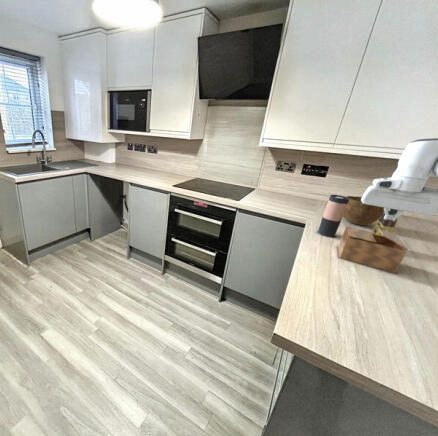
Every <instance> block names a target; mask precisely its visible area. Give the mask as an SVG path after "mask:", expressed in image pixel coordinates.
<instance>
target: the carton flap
mask: <svg viewBox="0 0 438 436" xmlns="http://www.w3.org/2000/svg"><path fill="white" fill-rule="evenodd" d="M377 227H378V229H379V230H380V232H381V234H382V235H383V236H384V237H386V238H387V239H389V240H391V241H392V242H394V243H396V244H398V245H399V246H401V247H403V248H404V249H405V250H406V251H408V247H407V246H406V245H405V244H404V242H403V241H402V239H401V238H400V237H399V236H397V235H395V234H394V233H393V232H392V233H390V232H388V231H387V230H385V229H383V228H381V227H380V226H378V225H377Z"/></svg>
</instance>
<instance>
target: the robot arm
mask: <svg viewBox="0 0 438 436" xmlns="http://www.w3.org/2000/svg"><path fill="white" fill-rule="evenodd" d="M430 177H435V178H436V179H437V178H438V138H437V137H434V138H433V137H432V138H420V139H415V140H413V141H411V142H409V143H408V144H407V146H406V147H405V149H404V150H403V152H402V154H401V155H400V158H399V159H398V162H397V168H396V170H395V171H394V172H393V173H392V175H391V177H383V178H382V177H381V178H375V179H373V180H372V184H371V185H369V186H368V187H367V188H366V189H365V190H364V192H363V194H362V195H361V197H362V198H361V202H362V203H363V204H368V205H373V206H379V207H384V213H385V216H384V219H385V220H391V221H395V220H396V218H399V217H401V216H403V214H404V213H405V212H408V213H412V214H413V213H414V214H417V215H418V214H419V215H425V216H433V215H434V216H435V215H436V214H437V212H438V188H432V187H425V185H426V183H427V181H429V180H428V179H429V178H430ZM390 209H396V210H397V213H396V214H395V215H389V214H388V211H390Z"/></svg>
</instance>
